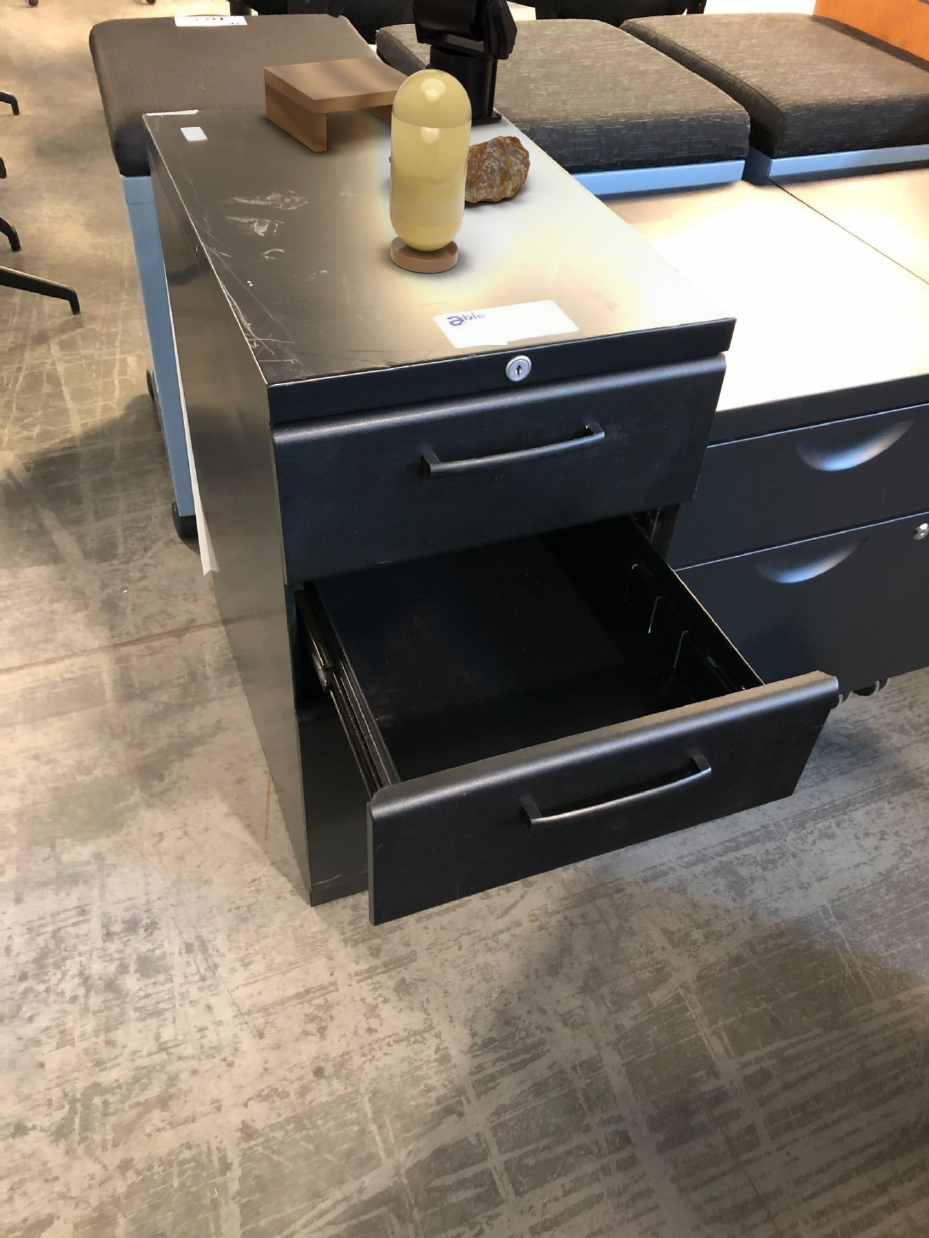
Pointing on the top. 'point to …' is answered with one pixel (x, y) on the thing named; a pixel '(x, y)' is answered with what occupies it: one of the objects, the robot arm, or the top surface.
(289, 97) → the shelf
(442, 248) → the yellow capsule on stand
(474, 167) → the decorative stone
